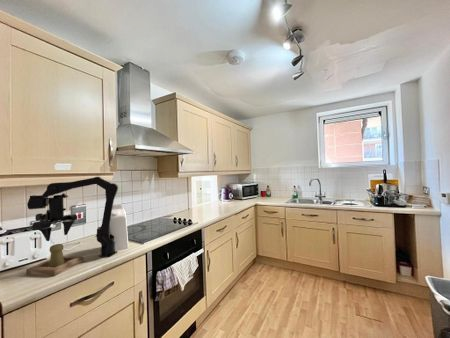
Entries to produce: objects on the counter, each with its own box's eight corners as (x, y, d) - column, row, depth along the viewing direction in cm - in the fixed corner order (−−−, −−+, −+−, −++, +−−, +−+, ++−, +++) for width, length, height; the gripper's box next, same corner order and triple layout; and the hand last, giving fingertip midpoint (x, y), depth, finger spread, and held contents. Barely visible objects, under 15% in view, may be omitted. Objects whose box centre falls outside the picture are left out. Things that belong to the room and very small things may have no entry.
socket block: (58, 260, 105) (58, 255, 105) (83, 261, 103) (83, 256, 103) (26, 274, 90) (26, 269, 90) (54, 276, 88) (54, 270, 88)
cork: (68, 264, 100) (67, 242, 100) (58, 270, 94) (57, 246, 94) (56, 264, 100) (55, 242, 100) (45, 270, 94) (44, 247, 94)
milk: (128, 242, 129) (126, 202, 130) (127, 248, 119) (126, 204, 119) (106, 245, 124) (105, 204, 125) (104, 252, 114) (103, 206, 114)
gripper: (60, 204, 112) (61, 232, 112) (22, 211, 94) (22, 244, 93) (77, 204, 110) (78, 232, 110) (42, 210, 92) (43, 244, 92)
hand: (57, 237), depth 101 cm, fingers open, 9 cm apart
